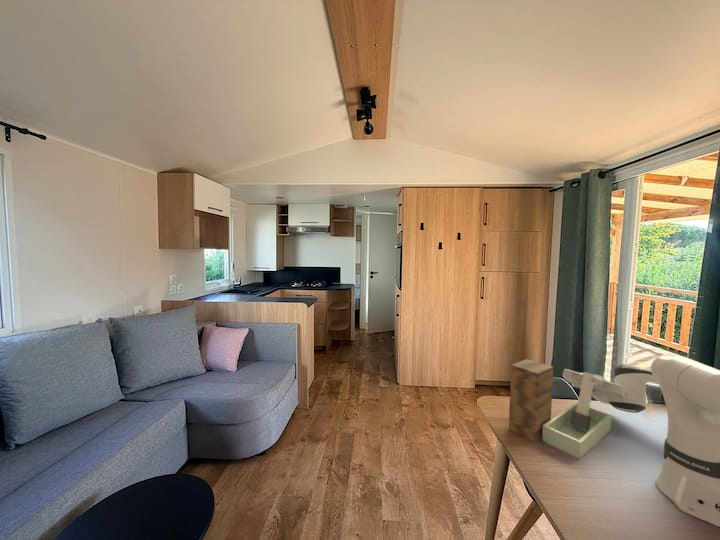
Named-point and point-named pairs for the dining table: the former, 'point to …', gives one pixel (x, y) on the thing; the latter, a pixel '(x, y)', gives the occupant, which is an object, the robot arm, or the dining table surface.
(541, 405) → the stand
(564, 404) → the dining table surface
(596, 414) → the bin
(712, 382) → the robot arm
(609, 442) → the dining table surface
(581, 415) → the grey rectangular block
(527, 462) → the dining table surface
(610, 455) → the dining table surface
